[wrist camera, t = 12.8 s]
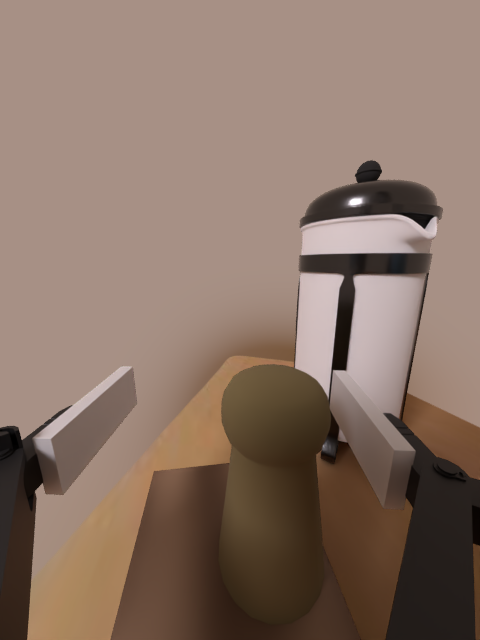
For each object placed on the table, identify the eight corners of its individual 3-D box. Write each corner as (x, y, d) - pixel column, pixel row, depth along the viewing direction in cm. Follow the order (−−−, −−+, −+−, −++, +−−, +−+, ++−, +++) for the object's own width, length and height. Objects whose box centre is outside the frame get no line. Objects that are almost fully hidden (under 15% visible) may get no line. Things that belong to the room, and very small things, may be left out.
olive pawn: (206, 614, 11) (194, 411, 9) (227, 493, 17) (223, 350, 14) (339, 635, 11) (369, 421, 8) (313, 502, 16) (325, 354, 14)
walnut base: (284, 494, 21) (286, 456, 20) (361, 724, 11) (373, 669, 10) (158, 510, 20) (154, 471, 19) (101, 794, 9) (85, 737, 8)
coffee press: (411, 412, 33) (458, 170, 26) (407, 504, 20) (497, 84, 13) (294, 377, 43) (305, 196, 36) (243, 424, 30) (244, 160, 23)
